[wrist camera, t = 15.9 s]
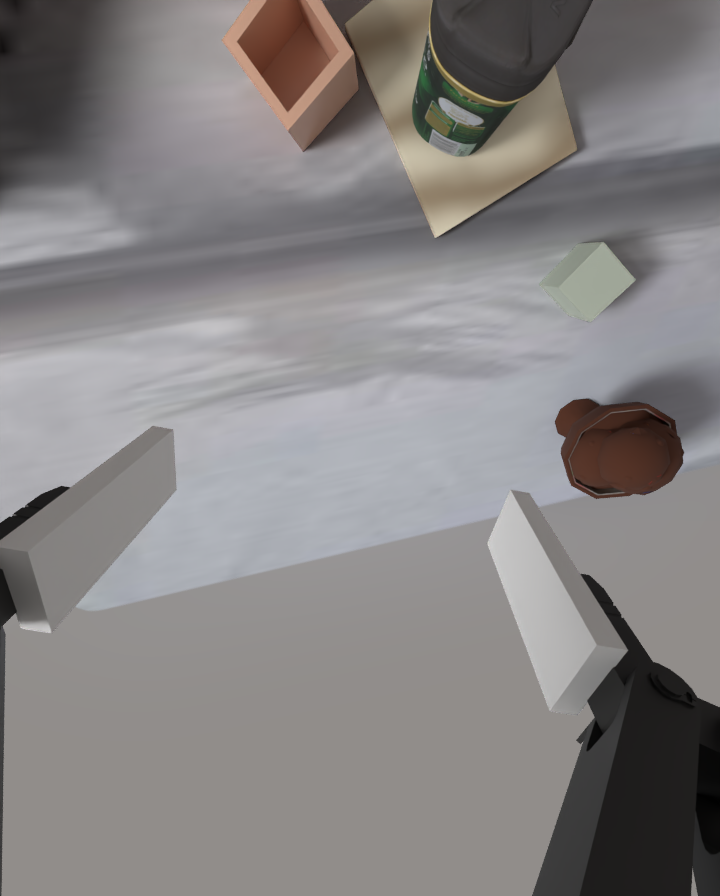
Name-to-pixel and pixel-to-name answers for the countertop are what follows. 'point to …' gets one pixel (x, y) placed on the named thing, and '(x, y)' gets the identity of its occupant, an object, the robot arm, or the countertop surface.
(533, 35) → the coffee jar
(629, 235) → the countertop surface
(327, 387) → the countertop surface
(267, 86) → the terracotta cup
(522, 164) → the birch board
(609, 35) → the countertop surface
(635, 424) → the ice cream bowl
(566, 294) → the grey-green block
